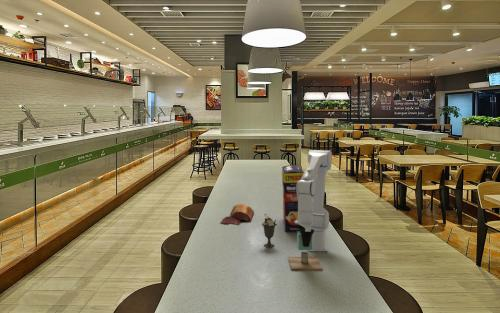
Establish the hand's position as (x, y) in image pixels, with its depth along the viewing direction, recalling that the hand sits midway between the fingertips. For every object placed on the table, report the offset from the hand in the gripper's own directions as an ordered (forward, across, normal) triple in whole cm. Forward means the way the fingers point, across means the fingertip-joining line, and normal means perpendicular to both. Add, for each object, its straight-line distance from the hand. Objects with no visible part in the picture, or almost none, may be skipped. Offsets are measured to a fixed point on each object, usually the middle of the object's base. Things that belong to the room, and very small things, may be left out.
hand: (304, 244), depth 147 cm
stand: (+8, 0, 0) cm, 8 cm away
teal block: (+2, 0, 0) cm, 2 cm away
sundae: (+9, -22, -13) cm, 27 cm away
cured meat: (+9, -68, -29) cm, 74 cm away
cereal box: (+9, -55, +2) cm, 56 cm away
